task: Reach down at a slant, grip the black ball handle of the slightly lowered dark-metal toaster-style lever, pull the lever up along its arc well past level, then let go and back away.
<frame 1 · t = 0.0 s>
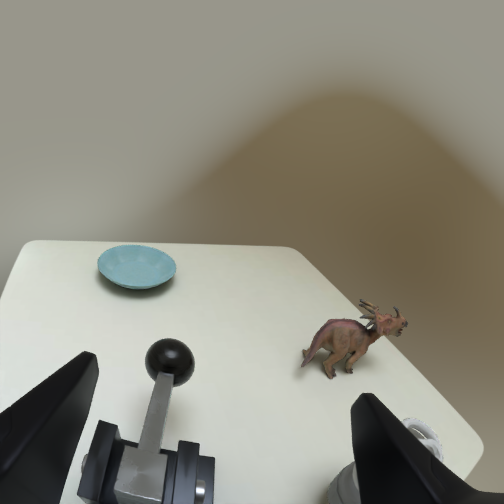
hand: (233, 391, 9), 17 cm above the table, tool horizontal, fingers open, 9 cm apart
saucer: (136, 277, 42), on the table
dinosaur figurine: (332, 361, 36), on the table
lever: (157, 411, 15), point 9 cm above the table, hinge at -8.0°
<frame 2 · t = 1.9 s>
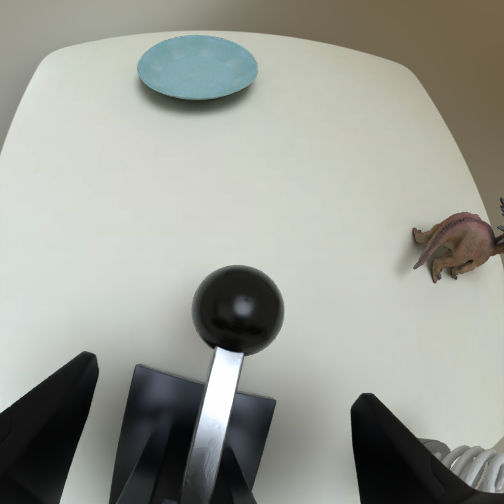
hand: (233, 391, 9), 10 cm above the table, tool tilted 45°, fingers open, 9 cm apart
saucer: (196, 78, 26), on the table
dinosaur figurine: (440, 253, 25), on the table
light bulb: (385, 459, 18), on the table
lever: (210, 430, 9), point 9 cm above the table, hinge at -8.0°
bracket: (186, 462, 16), on the table
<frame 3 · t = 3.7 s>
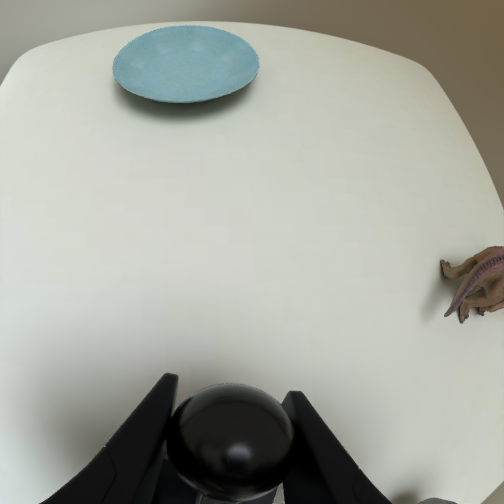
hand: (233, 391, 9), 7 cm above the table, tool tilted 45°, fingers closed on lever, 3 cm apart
saucer: (185, 76, 21), on the table
dinosaur figurine: (468, 287, 20), on the table
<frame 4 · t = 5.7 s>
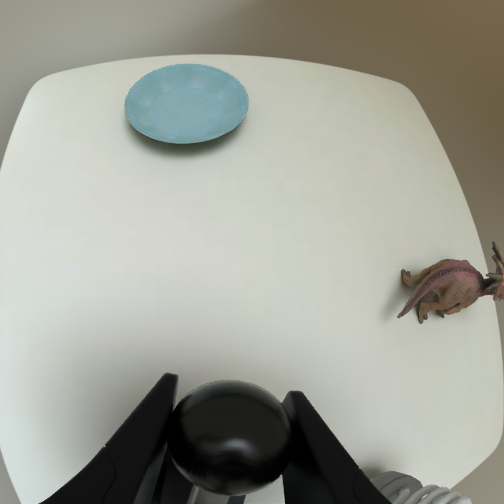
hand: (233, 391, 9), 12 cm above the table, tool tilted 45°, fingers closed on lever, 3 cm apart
saucer: (186, 113, 27), on the table
dinosaur figurine: (428, 292, 26), on the table
light bulb: (364, 485, 19), on the table
bracket: (182, 489, 16), on the table
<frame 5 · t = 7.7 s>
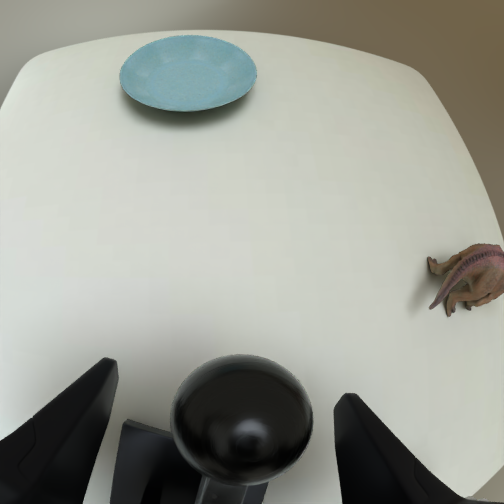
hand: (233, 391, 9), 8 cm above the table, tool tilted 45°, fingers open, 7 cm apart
saucer: (187, 85, 23), on the table
dinosaur figurine: (455, 282, 22), on the table
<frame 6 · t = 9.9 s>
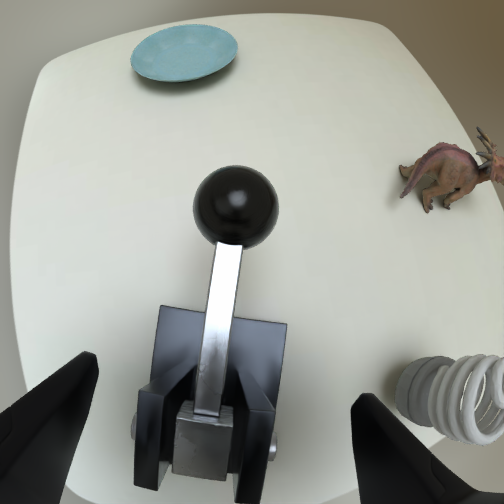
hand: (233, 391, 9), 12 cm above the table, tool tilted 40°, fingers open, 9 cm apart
saucer: (185, 63, 28), on the table
dinosaur figurine: (430, 186, 26), on the table
light bulb: (402, 384, 21), on the table
lever: (218, 323, 12), point 10 cm above the table, hinge at 4.6°
bracket: (212, 395, 20), on the table
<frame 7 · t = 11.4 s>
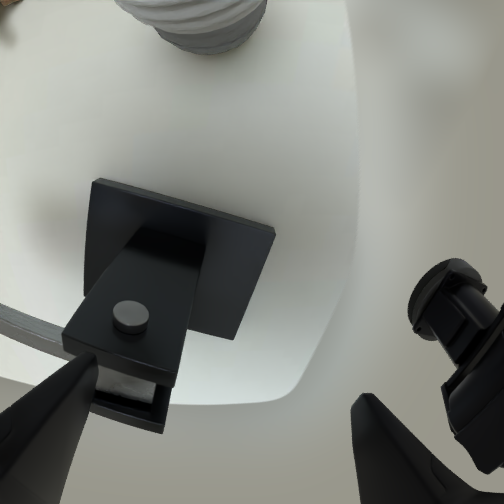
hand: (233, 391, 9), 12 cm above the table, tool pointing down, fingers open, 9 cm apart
light bulb: (215, 27, 14), on the table
lever: (25, 329, 10), point 10 cm above the table, hinge at 4.6°
bracket: (169, 261, 20), on the table
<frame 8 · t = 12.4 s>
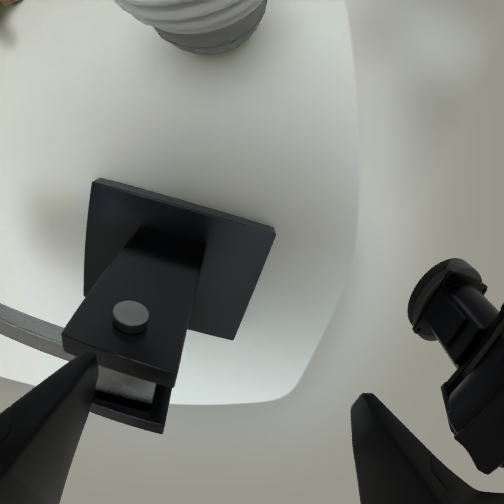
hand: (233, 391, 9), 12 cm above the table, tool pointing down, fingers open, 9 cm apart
light bulb: (215, 27, 14), on the table
lever: (25, 329, 10), point 10 cm above the table, hinge at 4.6°
bracket: (169, 261, 20), on the table
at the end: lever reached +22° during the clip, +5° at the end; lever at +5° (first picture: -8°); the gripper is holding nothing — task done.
